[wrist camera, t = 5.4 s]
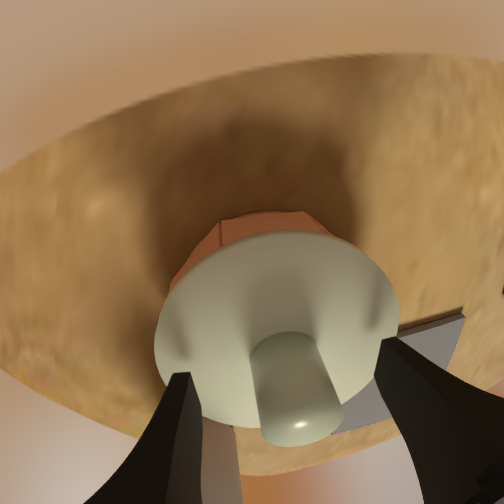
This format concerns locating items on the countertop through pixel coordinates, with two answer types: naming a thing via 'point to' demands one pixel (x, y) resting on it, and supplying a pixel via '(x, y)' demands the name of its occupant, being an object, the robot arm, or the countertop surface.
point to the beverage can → (219, 464)
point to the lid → (278, 331)
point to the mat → (423, 341)
